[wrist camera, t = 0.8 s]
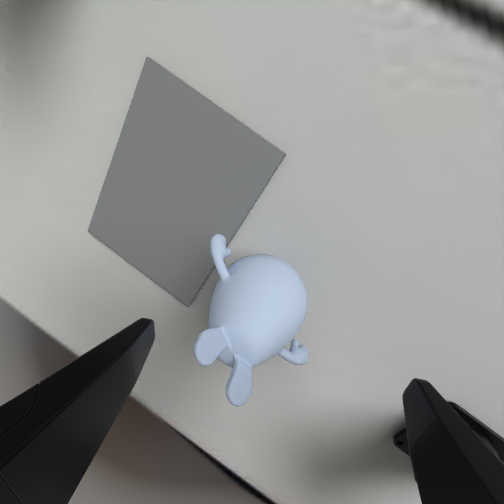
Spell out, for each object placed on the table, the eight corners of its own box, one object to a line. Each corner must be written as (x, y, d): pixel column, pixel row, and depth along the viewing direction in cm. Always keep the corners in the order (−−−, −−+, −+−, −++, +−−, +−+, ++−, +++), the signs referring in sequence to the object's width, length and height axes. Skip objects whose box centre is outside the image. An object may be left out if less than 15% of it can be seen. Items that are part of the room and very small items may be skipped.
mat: (286, 154, 20) (285, 154, 19) (190, 304, 27) (188, 306, 26) (150, 58, 20) (146, 56, 20) (91, 230, 27) (87, 231, 27)
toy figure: (209, 240, 24) (98, 316, 13) (267, 197, 21) (187, 248, 10) (282, 337, 25) (235, 482, 14) (345, 308, 22) (347, 459, 11)
